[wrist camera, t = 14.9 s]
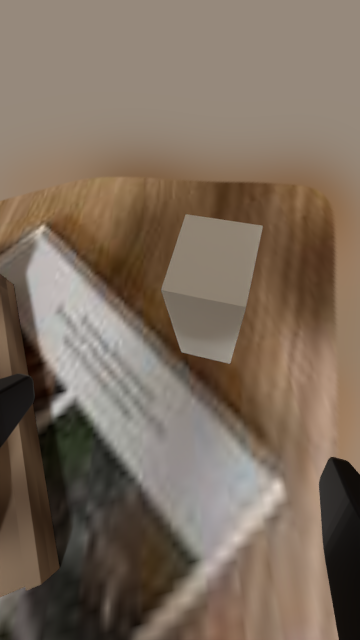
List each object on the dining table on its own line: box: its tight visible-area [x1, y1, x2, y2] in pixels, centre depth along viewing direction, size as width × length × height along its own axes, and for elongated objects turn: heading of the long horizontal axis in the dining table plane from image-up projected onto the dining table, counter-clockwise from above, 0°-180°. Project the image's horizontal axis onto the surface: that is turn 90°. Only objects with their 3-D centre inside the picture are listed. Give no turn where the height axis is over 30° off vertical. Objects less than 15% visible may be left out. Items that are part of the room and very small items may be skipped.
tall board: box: [161, 214, 263, 364], centre depth 17 cm, size 4×4×10 cm
